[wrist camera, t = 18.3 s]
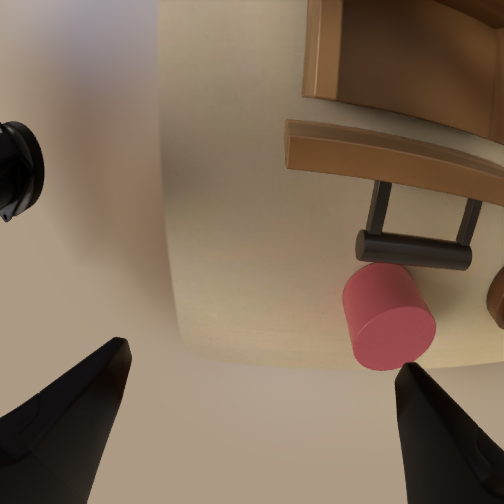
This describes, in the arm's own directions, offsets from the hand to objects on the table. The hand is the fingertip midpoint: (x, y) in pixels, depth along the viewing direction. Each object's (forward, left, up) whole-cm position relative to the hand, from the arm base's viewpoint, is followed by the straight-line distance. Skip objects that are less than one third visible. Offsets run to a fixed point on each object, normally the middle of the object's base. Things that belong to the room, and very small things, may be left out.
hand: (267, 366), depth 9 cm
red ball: (+3, -9, -12) cm, 15 cm away
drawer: (+10, +2, -11) cm, 15 cm away
